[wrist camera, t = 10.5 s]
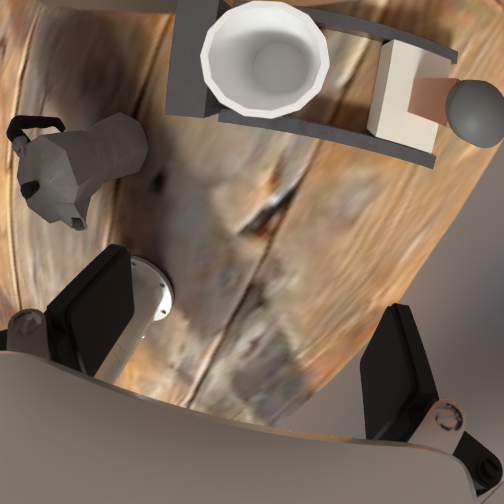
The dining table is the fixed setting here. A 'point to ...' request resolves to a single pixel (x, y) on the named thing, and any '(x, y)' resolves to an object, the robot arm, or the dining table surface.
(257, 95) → the foam cup
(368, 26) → the grey frame
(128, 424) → the robot arm
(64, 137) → the coffeepot
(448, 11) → the dining table surface
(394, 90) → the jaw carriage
